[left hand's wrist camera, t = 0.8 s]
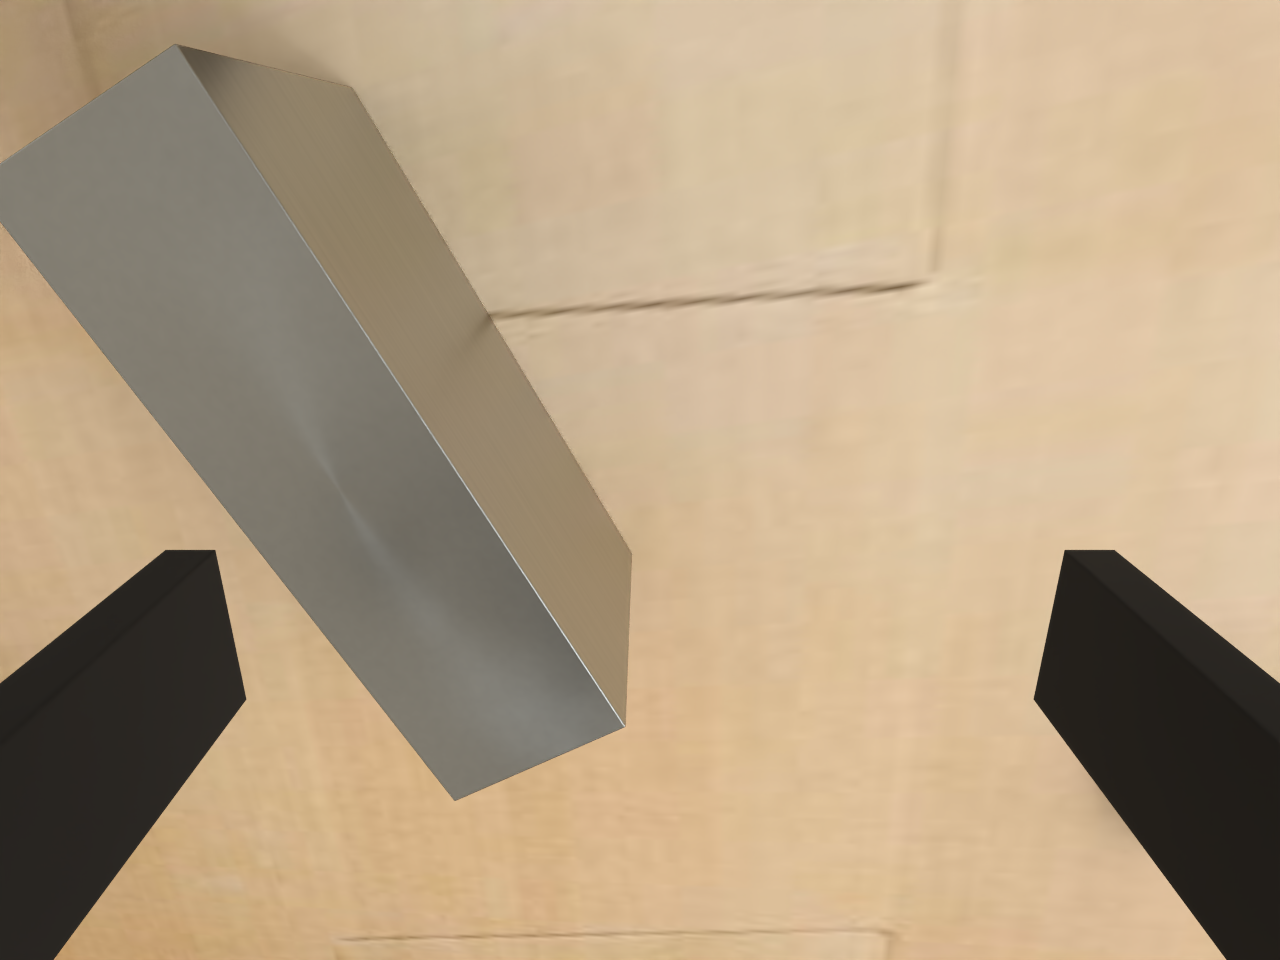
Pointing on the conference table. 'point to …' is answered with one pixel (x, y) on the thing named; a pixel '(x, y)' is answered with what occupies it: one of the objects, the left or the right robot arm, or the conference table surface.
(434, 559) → the box
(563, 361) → the conference table surface
